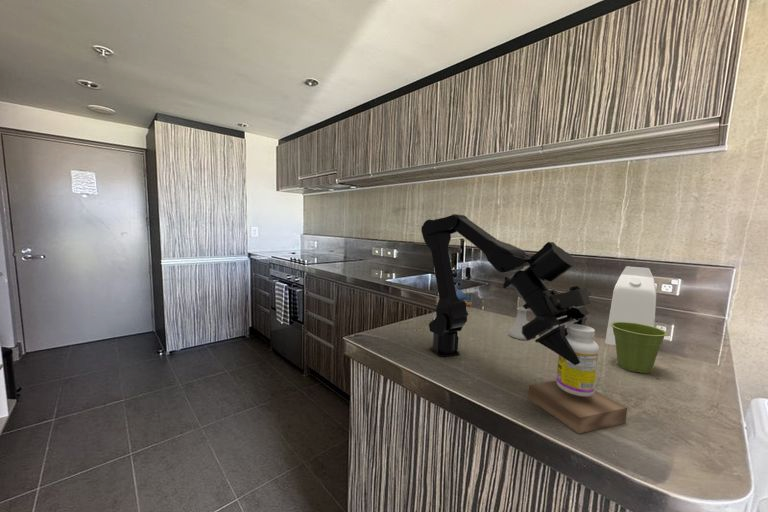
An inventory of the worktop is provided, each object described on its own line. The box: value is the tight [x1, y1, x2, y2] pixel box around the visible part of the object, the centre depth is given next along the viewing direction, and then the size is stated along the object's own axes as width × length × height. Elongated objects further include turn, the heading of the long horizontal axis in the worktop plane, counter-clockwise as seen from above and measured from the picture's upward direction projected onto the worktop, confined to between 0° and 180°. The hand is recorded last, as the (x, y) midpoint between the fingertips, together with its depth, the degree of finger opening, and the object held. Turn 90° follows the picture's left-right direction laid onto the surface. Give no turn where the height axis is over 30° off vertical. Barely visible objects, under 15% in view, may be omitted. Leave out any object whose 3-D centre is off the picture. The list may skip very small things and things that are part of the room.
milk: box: [604, 265, 657, 346], centre depth 102 cm, size 12×12×26 cm
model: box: [454, 284, 474, 307], centre depth 150 cm, size 12×9×9 cm
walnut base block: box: [527, 380, 628, 434], centre depth 62 cm, size 12×12×3 cm
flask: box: [508, 307, 529, 341], centre depth 106 cm, size 7×7×10 cm
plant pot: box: [611, 322, 668, 374], centre depth 83 cm, size 12×12×11 cm
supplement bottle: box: [555, 324, 600, 396], centre depth 62 cm, size 7×7×13 cm
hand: (585, 360), depth 60 cm, fingers closed on supplement bottle, 7 cm apart
